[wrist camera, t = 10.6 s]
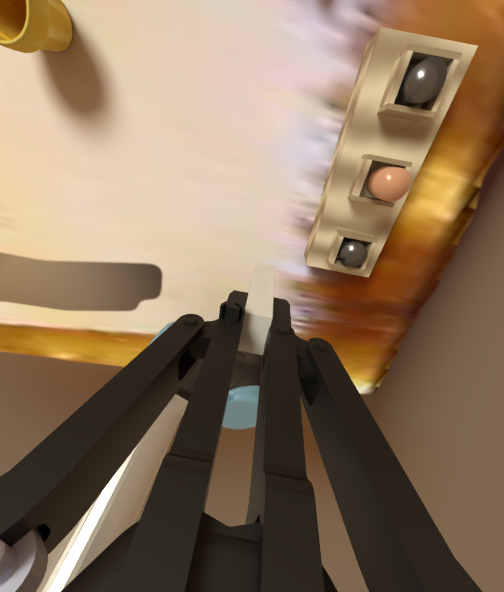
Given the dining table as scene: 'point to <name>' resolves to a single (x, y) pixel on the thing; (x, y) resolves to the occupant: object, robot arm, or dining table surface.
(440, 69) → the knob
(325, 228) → the beige long block
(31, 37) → the plant pot
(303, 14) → the dining table surface
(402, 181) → the knob middle
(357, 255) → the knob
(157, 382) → the robot arm
